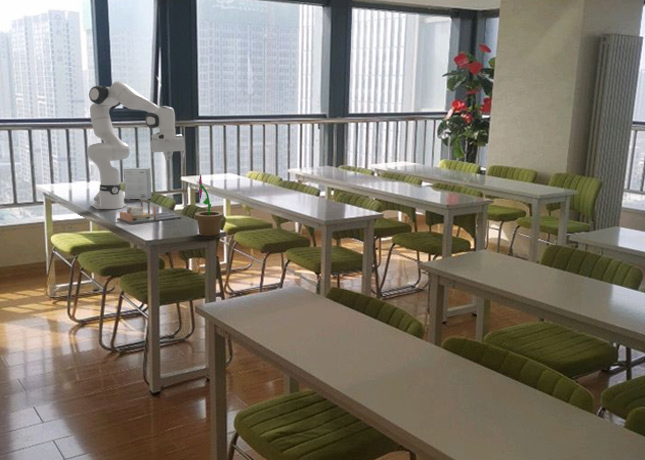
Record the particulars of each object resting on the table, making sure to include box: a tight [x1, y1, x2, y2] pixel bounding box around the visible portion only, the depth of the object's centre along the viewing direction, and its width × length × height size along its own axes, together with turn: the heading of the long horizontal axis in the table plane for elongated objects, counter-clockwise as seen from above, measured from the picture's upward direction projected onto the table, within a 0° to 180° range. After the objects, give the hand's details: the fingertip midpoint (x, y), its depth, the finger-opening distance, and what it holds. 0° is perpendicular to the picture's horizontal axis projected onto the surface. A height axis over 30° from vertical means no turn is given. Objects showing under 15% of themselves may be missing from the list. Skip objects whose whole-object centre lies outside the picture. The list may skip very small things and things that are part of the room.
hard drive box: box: [123, 167, 152, 200], centre depth 457 cm, size 16×8×20 cm, turn 84°
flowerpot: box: [194, 173, 224, 237], centre depth 353 cm, size 14×14×30 cm
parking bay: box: [119, 206, 157, 222], centre depth 386 cm, size 16×15×7 cm
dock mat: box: [116, 212, 182, 226], centre depth 392 cm, size 17×30×1 cm, turn 132°
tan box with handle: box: [126, 199, 152, 220], centre depth 386 cm, size 10×11×10 cm
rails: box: [133, 211, 176, 221], centre depth 392 cm, size 8×28×1 cm, turn 132°
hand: (168, 159), depth 404 cm, fingers closed
